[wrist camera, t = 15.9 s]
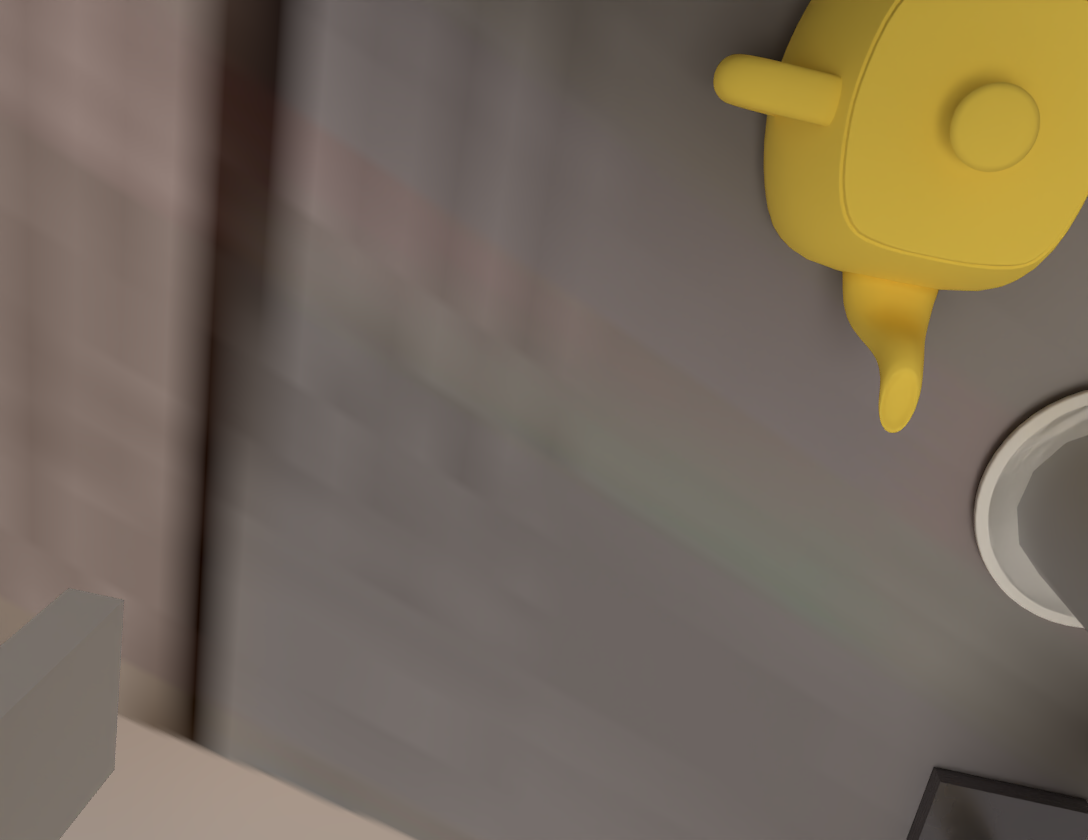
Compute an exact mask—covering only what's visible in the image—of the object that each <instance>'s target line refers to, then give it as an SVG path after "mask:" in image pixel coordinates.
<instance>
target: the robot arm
mask: <svg viewBox="0 0 1088 840" xmlns="http://www.w3.org/2000/svg"><path fill="white" fill-rule="evenodd" d="M123 611H124V600H122V599H117V598H113V597H108V596H103V595H99V594H94V593H89V592H85V591H80V590H76V589H71V588H68V589H67V590H66V591H65V592H63V593H62V594H61V595H60V596H59V597H58V598H56V599H55V600H54V601H53V602H52V603H50V604H49V605H48V606H47V607H46V608H45V609H43V610H42V611H41V612H40V613H39V614H38V615H36V616H35V617H34V618H33V619H32V620H30V621H29V622H28V623H27V624H26V625H25V626H23V627H22V628H21V629H20V630H19V631H17V632H16V633H15V634H14V635H13V636H12V637H10V638H9V639H8V640H7V641H6V642H5V643H3V644H2V645H1V646H0V840H59V839H60V838H61V836H62V835H63V834H64V833H65V831H66V830H67V829H68V828H69V827H70V825H71V824H72V823H73V821H74V820H75V819H76V818H77V816H78V815H79V814H80V813H81V811H82V810H83V809H84V808H85V806H86V805H87V804H88V802H89V801H90V800H91V798H92V797H93V796H94V795H95V793H96V792H97V791H98V790H99V788H100V787H101V786H102V785H103V783H104V782H105V781H106V779H107V778H108V777H109V776H110V775H111V773H112V772H113V771H114V767H115V766H114V765H115V748H116V732H117V715H118V697H119V680H120V663H121V646H122V628H123Z"/></svg>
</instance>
